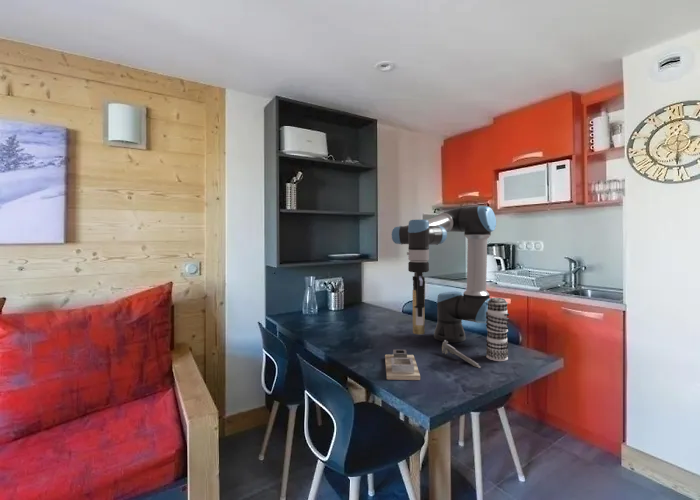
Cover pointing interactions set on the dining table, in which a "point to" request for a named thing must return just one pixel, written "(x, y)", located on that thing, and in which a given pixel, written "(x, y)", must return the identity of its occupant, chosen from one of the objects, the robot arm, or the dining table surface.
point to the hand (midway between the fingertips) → (418, 323)
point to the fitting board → (401, 366)
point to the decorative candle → (497, 329)
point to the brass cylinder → (416, 328)
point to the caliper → (457, 353)
